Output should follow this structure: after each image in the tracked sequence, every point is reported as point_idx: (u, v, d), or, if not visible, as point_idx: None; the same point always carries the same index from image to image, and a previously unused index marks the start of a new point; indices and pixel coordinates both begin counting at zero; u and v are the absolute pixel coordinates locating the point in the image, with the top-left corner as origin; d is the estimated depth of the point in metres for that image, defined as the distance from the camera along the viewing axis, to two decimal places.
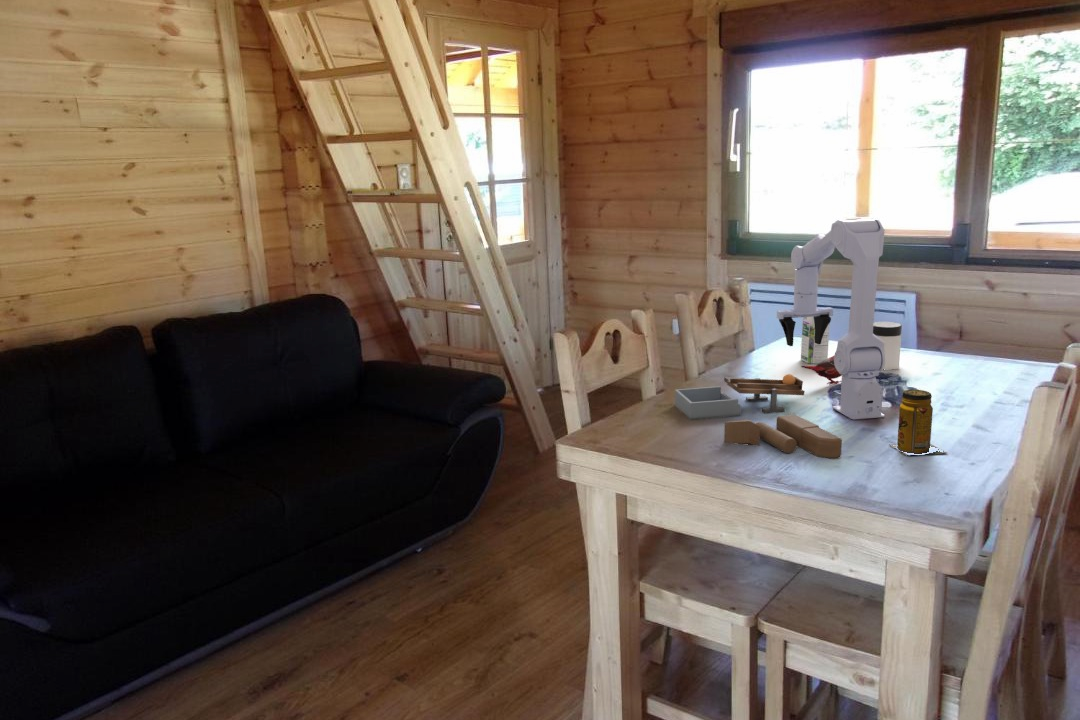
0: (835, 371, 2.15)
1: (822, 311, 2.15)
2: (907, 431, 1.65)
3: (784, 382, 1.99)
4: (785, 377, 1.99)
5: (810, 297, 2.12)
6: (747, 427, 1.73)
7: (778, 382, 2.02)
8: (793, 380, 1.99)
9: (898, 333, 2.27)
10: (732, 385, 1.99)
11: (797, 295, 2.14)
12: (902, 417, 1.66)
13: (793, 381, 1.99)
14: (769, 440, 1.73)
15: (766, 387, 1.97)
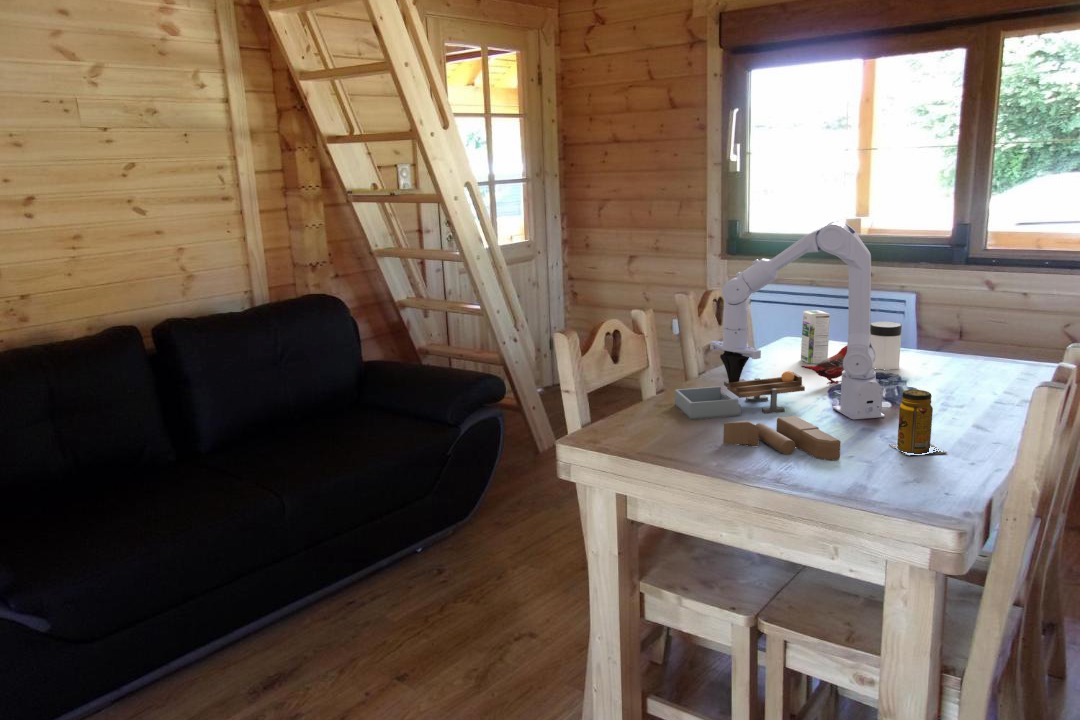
0: (835, 371, 2.15)
1: (741, 351, 1.98)
2: (907, 431, 1.65)
3: (783, 380, 1.99)
4: (783, 375, 1.99)
5: (726, 332, 2.00)
6: (746, 428, 1.73)
7: (778, 380, 2.02)
8: (792, 377, 1.98)
9: (898, 333, 2.27)
10: (732, 389, 1.99)
11: None
12: (902, 417, 1.66)
13: (792, 378, 1.98)
14: (768, 441, 1.72)
15: (766, 388, 1.97)
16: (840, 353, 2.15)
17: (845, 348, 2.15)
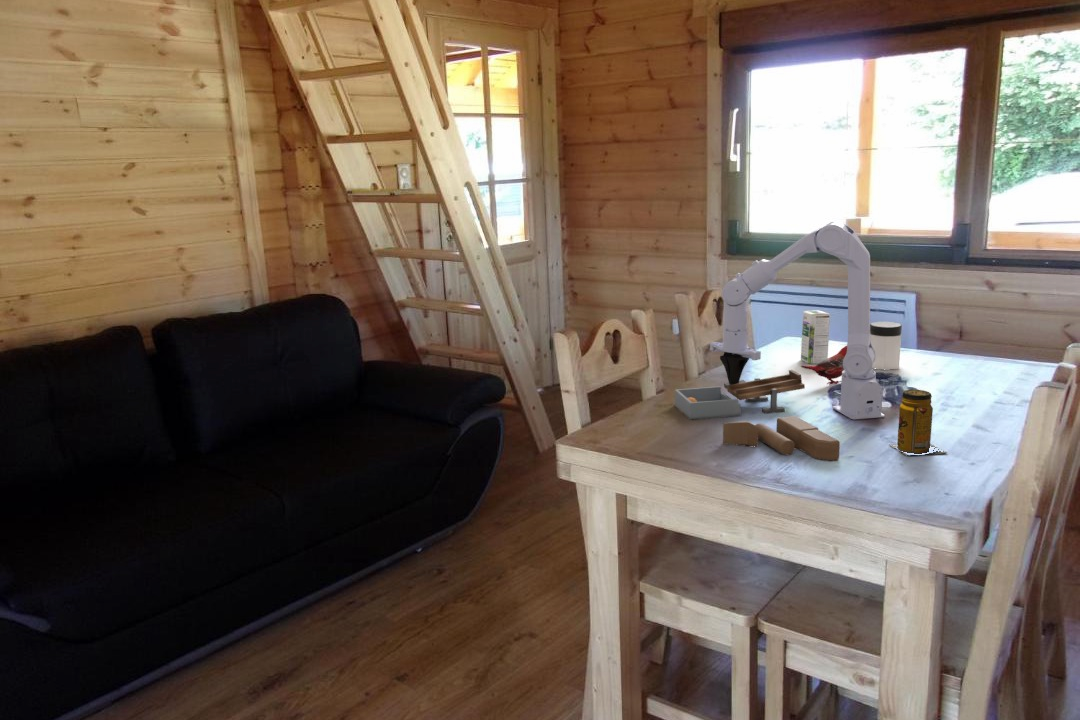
0: (835, 371, 2.15)
1: (741, 352, 1.98)
2: (907, 431, 1.65)
3: (695, 399, 1.97)
4: None
5: (726, 333, 2.00)
6: (745, 428, 1.73)
7: (777, 379, 2.01)
8: None
9: (898, 333, 2.27)
10: (732, 392, 1.99)
11: None
12: (902, 417, 1.66)
13: None
14: (767, 442, 1.72)
15: (765, 388, 1.97)
16: (840, 353, 2.15)
17: (845, 348, 2.15)
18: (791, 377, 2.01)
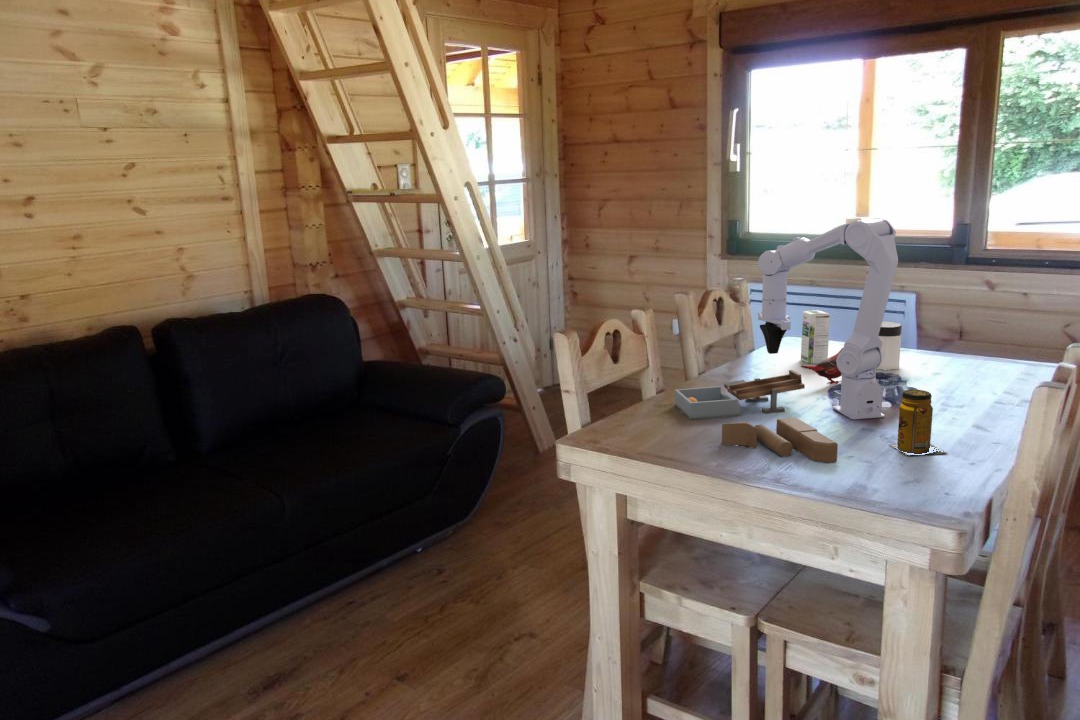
0: (835, 371, 2.15)
1: (773, 321, 2.02)
2: (907, 431, 1.65)
3: (695, 399, 1.97)
4: None
5: (763, 302, 2.05)
6: (744, 429, 1.72)
7: (777, 379, 2.01)
8: None
9: (898, 333, 2.27)
10: (732, 392, 1.99)
11: None
12: (902, 417, 1.66)
13: None
14: (766, 443, 1.71)
15: (765, 388, 1.97)
16: None
17: None
18: (791, 377, 2.01)
